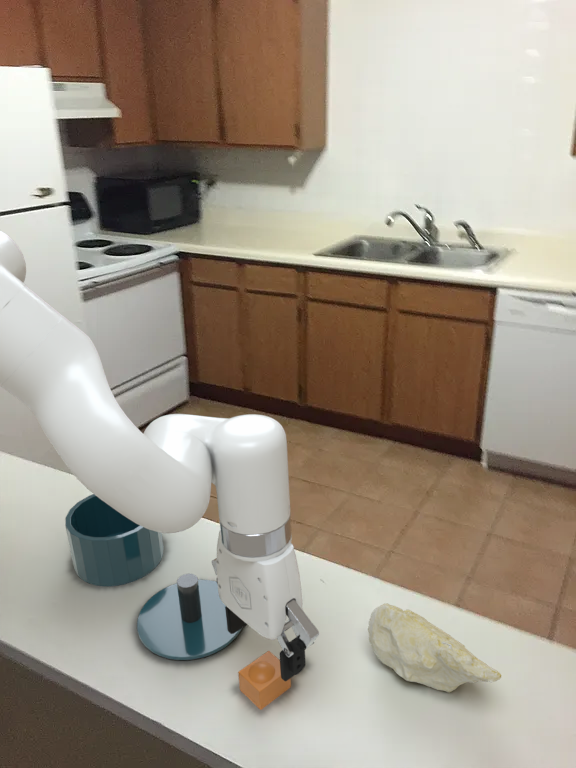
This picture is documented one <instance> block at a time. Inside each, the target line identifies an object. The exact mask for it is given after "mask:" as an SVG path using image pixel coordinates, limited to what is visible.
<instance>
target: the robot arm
mask: <svg viewBox="0 0 576 768" xmlns="http://www.w3.org/2000/svg"><path fill="white" fill-rule="evenodd" d="M26 275H27V264H26V259H25V256H24V254H23V252H22V250H21V249H20V247H19V245H18V244H17V243H16V241H15V240H14V239H13V238H12V237H11V236H10V235H8V234H7V233H6V232H4V231H2V230H1V229H0V387H1V388H2V389H3V390H5V391H6V392H7V393H9V394H10V395H12V396H13V397H15V399H17V400H18V401H19V402H21V403H22V404H23V405H24V406H26V407H27V408H28V409H29V410H30V412H31V413H32V414H33V416H34V418H35V419H36V421H37V423H38V426H39V428H40V429H41V431H42V432H43V434H44V435H45V437H46V439H47V440H48V441H49V443H50V445H51V446H52V447H53V449H54V450H55V451H56V453H57V454H58V456H59V457H60V459H61V460H62V461H63V463H64V465H65V466H66V467H67V469H68V470H69V471H70V472H71V474H72V475H73V476H74V477H75V478H76V479H77V480H78V481H79V482H80V483H81V484H82V485H83V486H84V487H85V488H86V489H87V490H88V491H89V492H90V493H92V494H94V495H96V496H97V497H98V498H100V499H101V500H102V501H104V502H105V503H107V504H108V505H109V506H111V507H112V508H114V509H115V510H116V511H118V512H119V513H121V514H122V515H124V516H125V517H126V518H128V519H130V520H131V521H133V522H134V523H136V524H138V525H140V526H142V527H145V528H147V529H149V530H153V531H156V532H161V533H162V534H176V533H182V532H185V531H186V530H189V529H191V528H192V527H194V526H195V525H196V524H197V523H199V521H200V520H202V518H203V516H204V515H205V513H206V511H207V510H208V507H209V504H210V500H211V493H212V492H211V491H212V484H213V485H214V486H215V489H216V501H217V510H218V518H219V519H218V520H219V529H220V530H219V531H218V535H217V543H216V557H215V558H214V559H212V560H211V565H212V568H213V570H214V573H215V576H216V582H217V584H218V592H219V597H220V599H221V601H222V602H223V603H224V604H225V605H226V607H225V611H226V620H227V629H228V632H229V633H231V634H234V633H235V632H237V631H238V630H240V629H241V628H242V629H243V628H245V627H246V626H249V627H250V628H251V629H252V630H254V631H255V632H256V633H257V634H259V635H260V636H261V637H263V638H265V639H267V640H270V641H274V640H277V641H278V644H279V645H280V648H281V650H280V652H279V660H280V670H281V678H282V679H283V680H284V681H287V680H289V679H290V678H291V679H292V678H293V677H294V676H297V675H299V674H300V673H301V672H302V671H303V670H304V668H305V667H306V650H307V649H308V648H309V647H310V648H311V646H312V645H314V644H315V642H316V640H317V639H318V637H319V636H320V632H319V630H318V629H317V627H316V626H315V625H314V623H313V622H312V621H311V619H310V618H309V617H308V615H307V614H306V613H305V611H304V610H303V608H304V607H303V591H302V583H301V576H300V570H299V564H298V559H297V554H296V551H295V546H294V544H293V543H292V540H293V534H292V517H291V515H292V514H291V497H290V496H291V495H290V494H291V493H290V480H289V479H290V478H289V477H290V476H289V461H288V460H289V459H288V455H289V454H288V440H287V434H286V430H285V429H284V427H283V425H282V424H281V423H280V422H279V421H278V420H276V419H274V417H273V418H272V417H271V416H268V415H263V414H257V413H256V414H255V413H251V414H249V413H248V414H241V415H235V416H232V417H230V418H229V417H228V418H227V417H214V416H206V415H198V414H187V413H186V414H185V413H169V414H166V415H162V416H159V417H157V418H156V419H154V420H152V421H151V422H150V423H149V424H148V425H147V426H146V428H145V429H144V431H143V432H142V431H141V430H140V429H139V428H138V427H137V426H136V425H135V424H134V423H133V421H132V420H131V419H130V417H128V416H127V414H126V413H125V411H124V410H123V409H122V407H121V406H120V404H119V402H118V401H117V399H116V398H115V396H114V393H113V391H112V389H111V387H110V385H109V382H108V379H107V376H106V373H105V372H106V371H105V369H104V366H103V362H102V359H101V356H100V353H99V352H98V349H97V348H96V345H95V343H94V342H93V341H92V339H91V337H90V336H89V335H88V334H87V333H85V332H84V331H83V330H82V329H81V328H80V327H78V326H77V325H76V324H75V323H73V322H72V321H71V320H69V318H67V317H66V316H65V315H63V314H62V313H60V312H59V311H58V310H57V309H56V308H54V307H53V306H52V305H51V304H49V303H48V302H47V301H46V300H44V298H42V297H41V296H40V295H38V294H37V293H36V292H35V291H33V290H32V289H31V288H30V287H28V285H27V284H25V280H26ZM287 618H288V619H287ZM290 628H291V629H292V631H293V633H294V634H295V637H294V638H293V639H292V640H290V641H289V639H288V637H287V635H286V633H285V632H286V631H288V630H289V629H290ZM242 629H241V630H242Z"/></svg>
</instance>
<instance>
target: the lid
mask: <svg viewBox="0 0 576 768" xmlns="http://www.w3.org/2000/svg"><path fill="white" fill-rule="evenodd" d="M225 607H226V605H225V604H224V603H223V602H222V601H221V599H220V597H219V592H218V584H217V580H216V581H215V580H210V579H199V578H198V576H197V575H196V574H194V573H184V574H181V575H180V576H179V577H177V580H176V583H173V584H171V585H168V586H166V587H164V588H162V589H161V590H159V591H158V592H156V593H155V594H153V595H152V596H151V597H150V598H149V599H148V600H147V601H146V602H145V604H143V606H142V608H141V609H140V612H139V613H138V616H137V621H136V628H137V629H136V630H137V634H138V637H139V640H140V642H141V643H142V644H143V646H144V647H145V649H147V650H148V651H149V652H151V653H153V654H155V655H157V656H159V657H162V658H163V659H169V660H175V661H190V660H197V659H202V658H205V657H208V656H211V655H213V654H216V653H218V652H220V651H221V650H223V649H224V648H226V647H227V646H229V645H231V643H233V641H234V640H235V639H236V638H237V637H238V636H239V634H240V633H241V631H242V630H243V628H241V629H240V630H238V631H237V632H235V633H234V634H231V633H229V632H228V629H227V620H226V611H225Z"/></svg>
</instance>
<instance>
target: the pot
mask: <svg viewBox="0 0 576 768" xmlns="http://www.w3.org/2000/svg"><path fill="white" fill-rule="evenodd" d="M64 521H65V522H64V523H65V525H64V526H65V531H66V535H67V540H68V545H69V551H70V555H71V559H72V565H73V569H74V571H75V574H76V575H77V576H78V578H79V579H80V580H82V581H83V582H85V583H87V584H90V585H93V586H97V587H98V586H99V587H118V586H122V585H127V584H131V583H133V582H136V581H138V580H140V579H143V578H144V577H147V576H148V575H149V574H150V573H151V572H153V571H154V570H155V569H156V568H157V567H158V566H159V564H160V563H161V561H162V559H163V556H164V550H165V549H164V548H165V547H164V540H163V533H161V532H156V531H153V530H149V529H147V528H145V527H142V526H140V525H138V524H136V523H134V522H133V521H131V520H130V519H128V518H126V517H125V516H124V515H122V514H121V513H119V512H118V511H116V510H115V509H114V508H112V507H111V506H109V505H108V504H107V503H105V502H104V501H102V500H101V499H100V498H98V497H97V496H96V495H94V494H93V493H92V494H89V495H88V496H86V497H84V498H83V499H81V500H79V501H78V502H76V503H75V504H74V505H73V506H72V507H71V508H70V509H69V510H68V512H67V514H66V516H65V519H64Z"/></svg>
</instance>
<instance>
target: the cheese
mask: <svg viewBox="0 0 576 768" xmlns="http://www.w3.org/2000/svg"><path fill="white" fill-rule="evenodd" d="M367 631H368V641H369V644H370V645H371V649H372V651H373V652H374V654H375V655H376V657H377V659H378V660H379V661H380V662H381V663H382V664H383V665H384V666H385V665H386V666H387V667H389V668H390V669H393V671H394V672H395V674H397V675H398V676H399V677H400V678H402V679H403V680H405V681H406V682H411V683H418V684H421V685H423V686H426V687H428V688H432V689H434V690H436V691H442V692H446V693H451V692H453V691H455V690H457V689H458V687H460V686H461V685H464V684H466V683H471V684H473V683H477V682H479V681H480V682H483V683H489V684H492V683H494V682H497V681H499V680H500V679H501V678H502V674H501V673H500V671H498V670H497V669H495V668H493V667H492V666H489V665H488V664H487V663H486V662H484V661H483V660H481V659H479V658H478V657H477V656H476V655H474V654H473V653H472V652H471V651H470V650H468V649H467V648H466V646H465V645H464V644H463V643H461V642H459V640H457V639H455V638H454V637H453V636H451V635H450V634H449V633H448V632H446V631H444V630H443V629H441V628H439V627H438V626H436V625H434V624H433V623H431V622H430V621H428V620H427V619H426V618H425V617H423V616H422V615H420V614H418V613H417V612H415V611H412V610H410V609H404V610H403V609H402V608H400V607H398V606H396V605H392V604H390V603H386V602H385V603H383V604H381V605H379V606H377V607H375V608H374V609H373V610H372V612H371V613H370V617H369V621H368V626H367Z"/></svg>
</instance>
